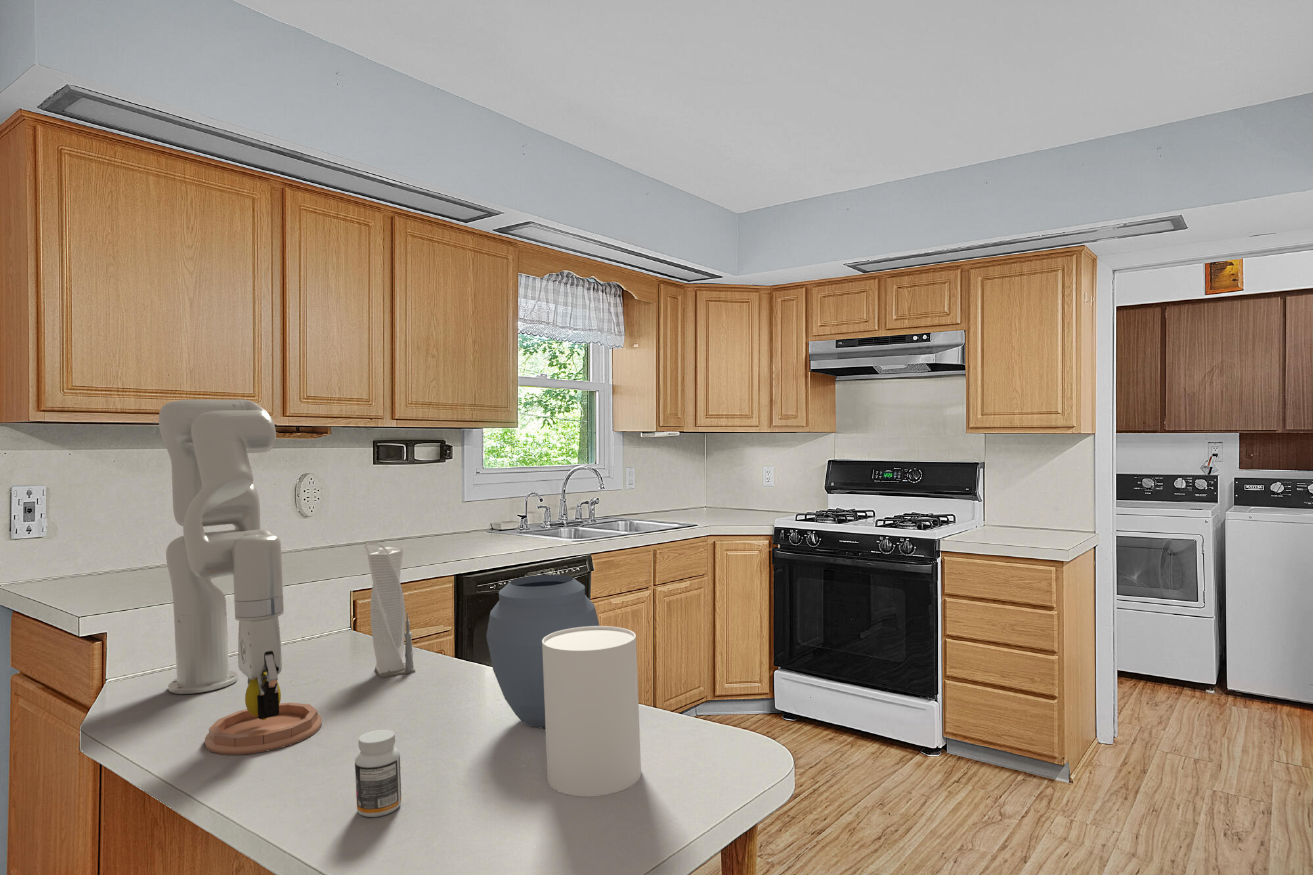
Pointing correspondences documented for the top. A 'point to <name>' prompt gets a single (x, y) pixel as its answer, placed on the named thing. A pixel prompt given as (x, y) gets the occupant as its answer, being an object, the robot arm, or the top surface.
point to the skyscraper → (389, 613)
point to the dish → (262, 730)
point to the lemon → (255, 696)
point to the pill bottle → (377, 774)
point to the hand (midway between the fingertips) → (263, 711)
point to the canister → (591, 710)
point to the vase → (532, 636)
